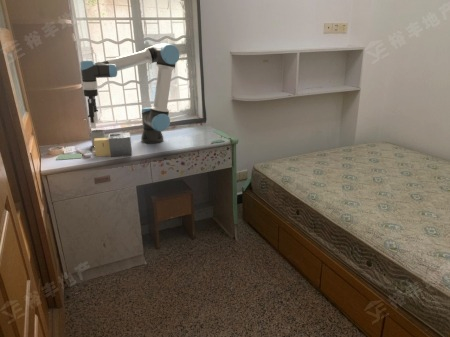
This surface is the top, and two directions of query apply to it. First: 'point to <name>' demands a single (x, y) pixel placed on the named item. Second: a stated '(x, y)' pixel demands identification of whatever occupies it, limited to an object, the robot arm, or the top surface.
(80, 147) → the top surface
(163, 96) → the robot arm
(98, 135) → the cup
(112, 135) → the dispenser
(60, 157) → the pad
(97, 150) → the yellow rectangular block
